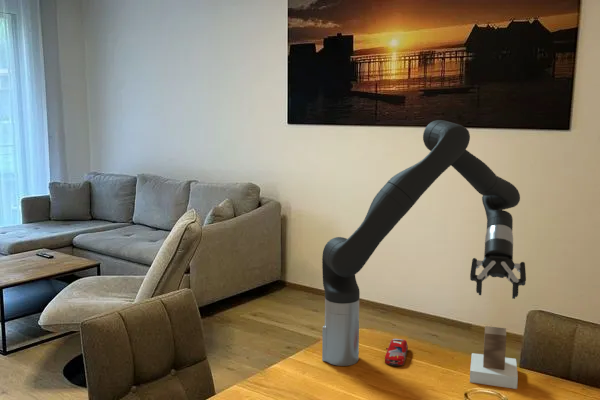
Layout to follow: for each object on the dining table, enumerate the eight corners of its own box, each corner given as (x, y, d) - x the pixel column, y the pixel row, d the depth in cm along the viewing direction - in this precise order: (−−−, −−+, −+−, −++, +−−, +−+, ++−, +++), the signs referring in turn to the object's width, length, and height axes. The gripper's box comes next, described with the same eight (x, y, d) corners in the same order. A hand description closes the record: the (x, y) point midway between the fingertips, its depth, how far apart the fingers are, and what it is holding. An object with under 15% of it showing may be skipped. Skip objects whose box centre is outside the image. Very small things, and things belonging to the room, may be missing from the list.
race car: (403, 369, 145) (403, 355, 145) (382, 366, 147) (383, 352, 147) (409, 349, 158) (410, 336, 157) (390, 346, 159) (391, 333, 159)
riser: (469, 382, 138) (470, 370, 137) (471, 363, 148) (471, 353, 148) (517, 389, 134) (517, 377, 134) (515, 369, 145) (516, 358, 144)
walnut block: (483, 367, 139) (484, 333, 138) (483, 359, 144) (485, 326, 143) (504, 370, 138) (506, 335, 136) (503, 361, 142) (505, 328, 141)
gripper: (472, 235, 157) (469, 286, 148) (527, 239, 152) (526, 291, 143) (472, 249, 162) (469, 299, 153) (524, 253, 158) (524, 305, 149)
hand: (496, 295), depth 148 cm, fingers open, 8 cm apart
